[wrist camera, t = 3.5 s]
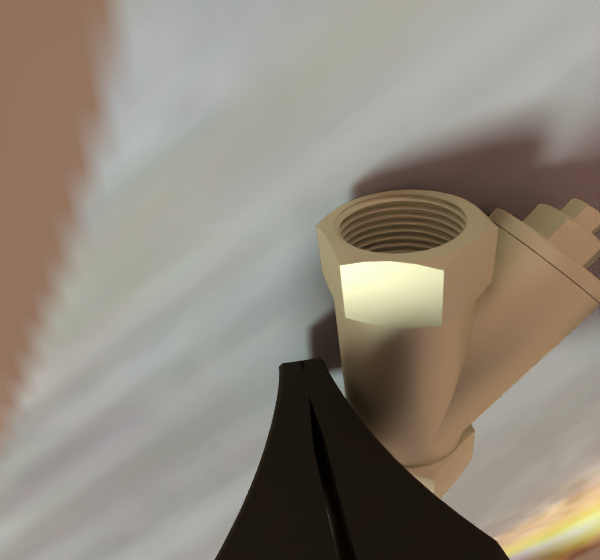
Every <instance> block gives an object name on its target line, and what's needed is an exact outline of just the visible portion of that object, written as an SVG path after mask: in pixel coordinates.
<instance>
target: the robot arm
mask: <svg viewBox="0 0 600 560" xmlns="http://www.w3.org/2000/svg"><path fill="white" fill-rule="evenodd" d="M326 508H327V509H326ZM327 512H328V513H327ZM328 516H329V518H328ZM329 520H330V522H329ZM330 525H331V527H330ZM331 529H332V531H331ZM215 560H509V558H508V557H507V555H506V554H505V552H504V551H503V549H502V548H501V547H500V545H499V544H498V542H497V541H496V540H494V539H493V538H491V537H490V536H488V535H487V534H486V533H484V532H483V531H481V530H480V529H479V528H477V527H476V526H474V525H473V524H472V523H470V522H469V521H468V520H466V519H465V518H463V517H462V516H461V515H459V514H458V513H457V512H456V511H454V510H453V509H452V508H451V507H449V506H448V505H447V504H446V503H444V502H443V501H442V500H440V499H439V498H438V497H437V496H436V495H435V494H434V493H432V492H431V491H430V490H429V489H428V488H427V487H426V486H424V485H423V484H422V483H421V482H420V481H419V480H418V479H416V478H415V477H414V476H413V475H412V474H411V473H410V472H409V471H408V470H407V469H406V468H405V467H404V466H403V465H402V464H401V463H399V462H398V461H397V460H396V459H395V457H394V456H393V455H392V454H391V453H390V452H389V451H388V450H387V449H386V448H385V447H384V446H383V445H382V444H381V443H380V441H379V440H378V439H377V438H376V437H375V436H374V435H373V433H372V432H371V431H370V430H369V429H368V427H367V426H366V425H365V424H364V423H363V421H362V420H361V419H360V417H359V416H358V415H357V414H356V412H355V411H354V410H353V408H352V407H351V405H350V404H349V403H348V401H347V400H346V399H345V397H344V396H343V394H342V393H341V391H340V390H339V388H338V386H337V385H336V383H335V382H334V380H333V378H332V377H331V375H330V373H329V371H328V369H327V367H326V365H325V363H324V361H323V360H322V359H320V358H317V359H310V360H303V361H296V362H289V363H282V364H281V365H280V366H279V387H278V394H277V401H276V406H275V410H274V415H273V420H272V424H271V428H270V431H269V435H268V438H267V441H266V445H265V448H264V451H263V454H262V457H261V460H260V463H259V466H258V469H257V471H256V474H255V477H254V479H253V482H252V484H251V487H250V489H249V491H248V494H247V496H246V498H245V501H244V503H243V505H242V507H241V510H240V512H239V514H238V516H237V518H236V520H235V522H234V524H233V526H232V528H231V530H230V532H229V534H228V536H227V538H226V540H225V542H224V544H223V545H222V547H221V549H220V551H219V553H218V555H217V557H216V558H215Z"/></svg>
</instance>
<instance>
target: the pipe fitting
mask: <svg viewBox="0 0 600 560" xmlns="http://www.w3.org/2000/svg"><path fill="white" fill-rule="evenodd" d="M316 229H317V237H318V244H319V252H320V260H321V267H322V273H323V275H324V278H325V280H326V283H327V285H328V288H329V290H330V292H331V294H332V296H333V298H334V304H335V312H336V321H337V329H338V337H339V346H340V354H341V362H342V371H343V379H344V387H345V396H346V400H347V401H348V403H349V404H350V405H351V407H352V408H353V410H354V411H355V412H356V414H357V415H358V416H359V417H360V419H361V420H362V421H363V423H364V424H365V425H366V426H367V427H368V429H369V430H370V431H371V432H372V433H373V435H374V436H375V437H376V438H377V439H378V440H379V441H380V443H381V444H382V445H383V446H384V447H385V448H386V449H387V450H388V451H389V452H390V453H391V454H392V455H393V456H394V457H395V459H396V460H397V461H398V462H399V463H401V464H402V465H403V466H404V467H405V468H406V469H407V470H408V471H409V472H410V473H411V474H412V475H413V476H414V477H415V478H416V479H418V480H419V481H420V482H421V483H422V484H423V485H424V486H426V487H427V488H428V489H429V490H430V491H431V492H432V493H434V494H435V495H436V496H437V497H438V498H439V499H440V498H441V497H442V496H443V495H444V494H445V493H446V492H447V491H448V490H449V488H450V487H451V486H452V485H453V484H454V482H455V481H456V480H457V479H458V477H459V476H460V475H461V473H462V472H463V471H464V469H465V468H466V466H467V465H468V463H469V462H470V460H471V459H472V451H473V443H474V434H475V430H474V428H473V427H472V425H471V423H472V422H473V421H475V420H476V419H477V418H478V417H479V416H480V415H481V414H482V413H483V412H484V411H485V410H486V409H488V408H489V407H490V406H491V405H492V404H493V403H494V402H495V401H496V400H497V399H498V398H499V397H501V396H502V395H503V394H504V393H505V392H506V391H507V390H508V389H509V388H510V387H511V386H513V385H514V384H515V383H516V382H517V381H518V380H519V379H520V378H521V377H522V376H523V375H524V374H526V373H527V372H528V371H529V370H530V369H531V368H532V367H533V366H534V365H535V364H536V363H538V362H539V361H540V360H541V359H542V358H543V357H544V356H545V355H546V354H547V353H548V352H550V351H551V350H552V349H553V348H554V347H555V346H556V345H557V344H558V343H559V342H560V341H561V340H563V339H564V338H565V337H566V336H567V335H568V334H569V333H570V332H571V331H572V330H573V329H575V328H576V327H577V326H578V325H579V324H580V323H581V322H582V321H583V320H584V319H585V318H587V317H588V316H589V315H590V314H591V313H592V312H593V311H594V310H595V309H596V308H597V307H598V306H600V305H599V304H600V280H599V279H598V278H597V277H596V276H594V275H593V274H592V273H591V272H590V271H588V270H587V269H588V268H589V267H590V266H591V265H592V264H593V263H594V262H595V261H596V260H597V259H598V258H599V257H600V240H599V239H598V238H597V237H596V236H595V235H594V234H595V233H596V232H597V231H598V230H599V229H600V212H599V211H597V210H596V209H595V208H593V207H592V206H590V205H589V204H587V203H585V202H583V201H581V200H579V199H576V198H572V199H571V200H570V201H569V202H568V203H567V204H566V205H565V206H564V208H563V209H562V210H561V211H559V210H558V209H556V208H554V207H552V206H550V205H547V204H540V203H539V204H538V206H537V207H536V208H535V209H534V210H533V211H532V212H531V213H530V214H529V215H528V216H527V217H526V218H525V219H524V220H523V221H521V220H519V219H517V218H516V217H514V216H513V215H511V214H509V213H508V212H506V211H504V210H502V209H498V208H497V209H495V210H494V211H493V212H492V213H491V214H490V215H489V217H488V216H487V215H486V214H485V213H483V212H482V211H481V210H480V209H479V208H478V207H476V206H475V205H474V204H472V203H471V202H469V201H467V200H465V199H463V198H461V197H458V196H455V195H451V194H447V193H443V192H437V191H429V190H393V191H385V192H379V193H374V194H370V195H366V196H363V197H360V198H357V199H354V200H352V201H349V202H347V203H345V204H343V205H342V206H340V207H338V208H337V209H335V210H334V211H332V212H331V213H330V214H328V215H327V216H326V217H325V218H324V219H323V220H321V221H320V222H319V223H318V224H317V225H316Z"/></svg>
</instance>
